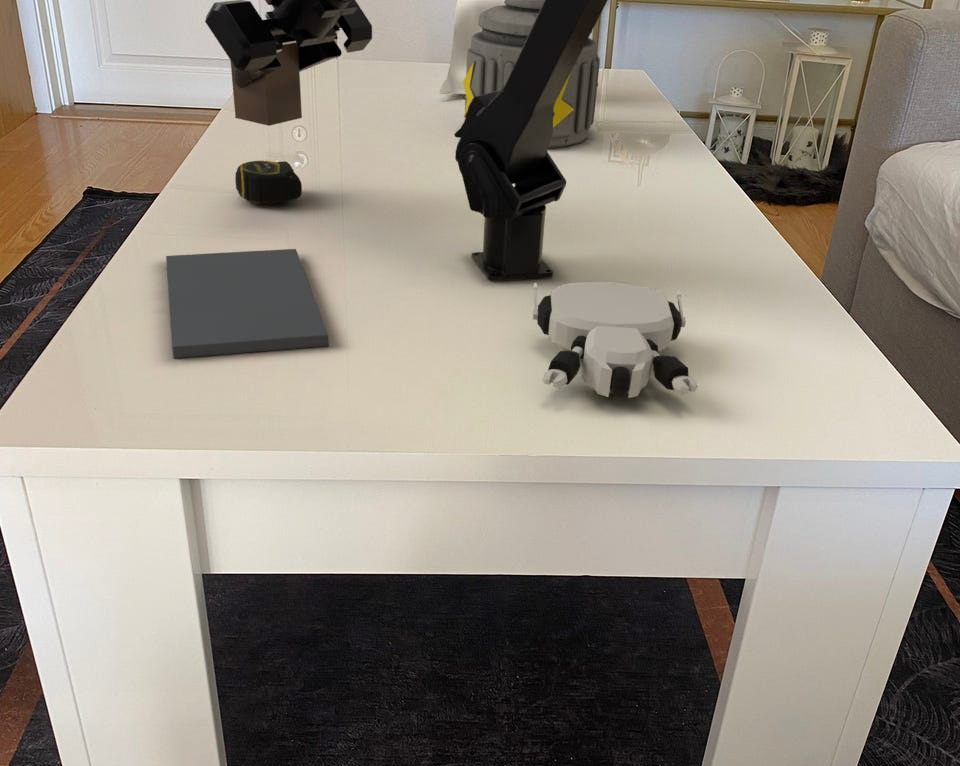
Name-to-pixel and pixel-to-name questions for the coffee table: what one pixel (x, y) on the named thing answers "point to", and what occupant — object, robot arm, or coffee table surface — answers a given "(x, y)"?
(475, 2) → the sculptural mask
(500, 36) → the grey ribbed canister
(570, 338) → the robot toy
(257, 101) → the walnut block
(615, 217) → the coffee table surface
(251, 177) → the tape measure
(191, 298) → the grey mat
